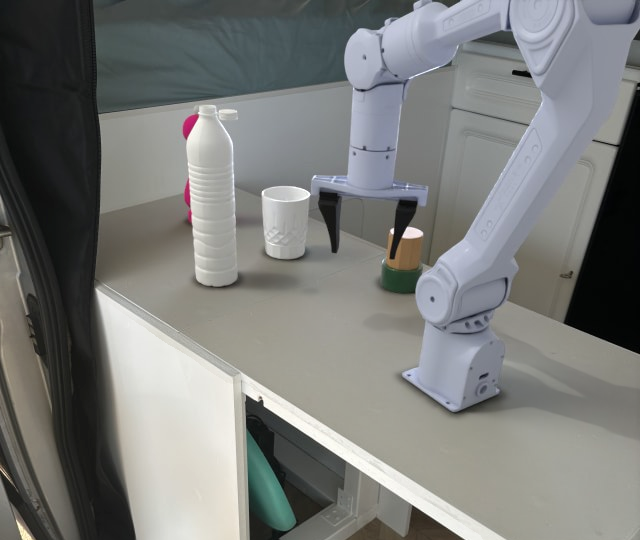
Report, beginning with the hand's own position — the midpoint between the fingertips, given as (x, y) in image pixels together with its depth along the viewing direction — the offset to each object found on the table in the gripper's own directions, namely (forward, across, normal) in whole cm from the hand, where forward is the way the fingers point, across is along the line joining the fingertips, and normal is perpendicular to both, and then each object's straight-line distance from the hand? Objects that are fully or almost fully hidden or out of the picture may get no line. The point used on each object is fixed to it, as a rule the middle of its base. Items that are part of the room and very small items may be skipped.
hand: (363, 253), depth 87 cm
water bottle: (+11, +23, -8) cm, 26 cm away
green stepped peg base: (+10, -5, -15) cm, 19 cm away
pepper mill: (+11, +33, -33) cm, 48 cm away
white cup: (+11, +16, -23) cm, 29 cm away
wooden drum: (+7, -5, -15) cm, 17 cm away
